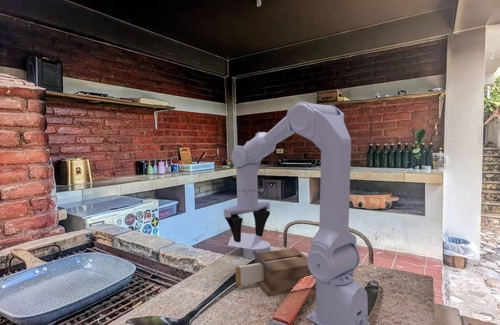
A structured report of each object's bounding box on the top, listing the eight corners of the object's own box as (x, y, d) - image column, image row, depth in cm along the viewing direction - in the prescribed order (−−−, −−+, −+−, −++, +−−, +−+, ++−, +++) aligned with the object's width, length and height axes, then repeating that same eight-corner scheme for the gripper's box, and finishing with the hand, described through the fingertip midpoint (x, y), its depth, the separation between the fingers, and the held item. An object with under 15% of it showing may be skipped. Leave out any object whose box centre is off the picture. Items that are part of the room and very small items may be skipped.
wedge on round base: (227, 255, 94) (263, 261, 88) (227, 235, 93) (263, 240, 88) (240, 246, 102) (274, 251, 96) (240, 228, 101) (273, 232, 96)
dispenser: (294, 268, 82) (294, 245, 82) (316, 287, 71) (315, 260, 71) (251, 275, 78) (251, 251, 78) (267, 296, 67) (267, 268, 67)
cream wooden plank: (297, 273, 76) (296, 257, 76) (298, 274, 75) (298, 258, 75) (235, 283, 71) (235, 266, 71) (236, 285, 70) (236, 268, 70)
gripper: (258, 185, 86) (259, 230, 86) (217, 191, 77) (218, 240, 78) (274, 188, 80) (275, 235, 81) (231, 194, 71) (233, 247, 72)
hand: (248, 238), depth 79 cm, fingers open, 7 cm apart
